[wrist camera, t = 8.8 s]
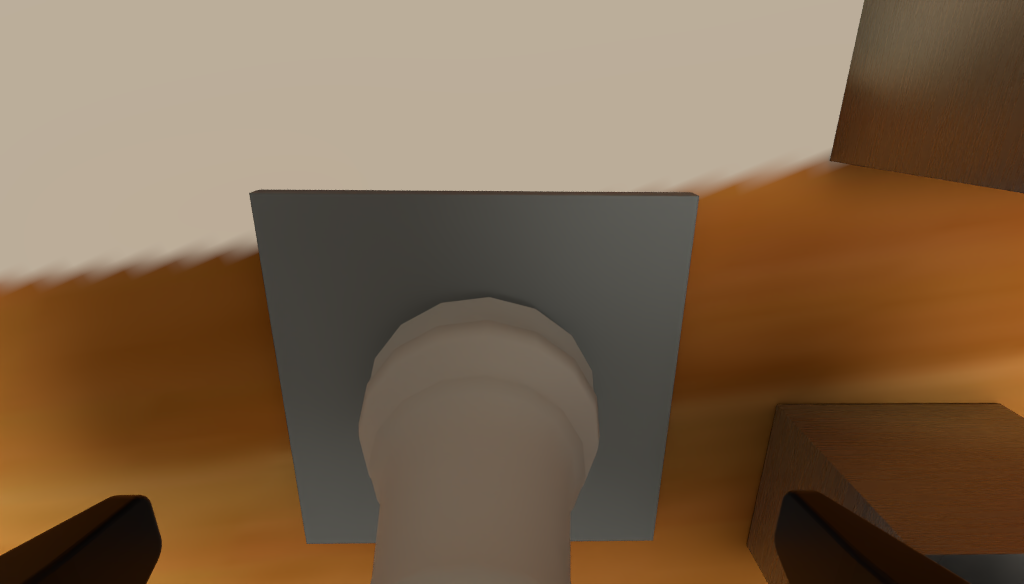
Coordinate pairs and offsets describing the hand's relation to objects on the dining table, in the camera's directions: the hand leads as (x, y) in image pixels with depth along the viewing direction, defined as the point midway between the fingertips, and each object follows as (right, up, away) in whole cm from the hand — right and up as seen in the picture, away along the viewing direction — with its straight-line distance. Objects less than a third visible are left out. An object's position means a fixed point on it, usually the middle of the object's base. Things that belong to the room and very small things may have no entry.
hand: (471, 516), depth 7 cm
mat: (0, +1, +4) cm, 4 cm away
